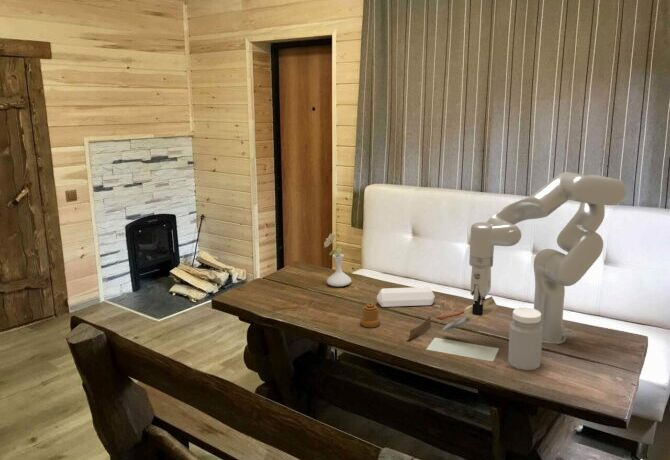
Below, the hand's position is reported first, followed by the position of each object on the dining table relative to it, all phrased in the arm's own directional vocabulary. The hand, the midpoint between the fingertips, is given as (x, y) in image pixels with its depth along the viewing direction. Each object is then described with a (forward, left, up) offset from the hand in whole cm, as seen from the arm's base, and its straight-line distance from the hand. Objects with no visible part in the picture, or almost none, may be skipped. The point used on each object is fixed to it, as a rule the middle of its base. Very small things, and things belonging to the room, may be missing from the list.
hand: (478, 312), depth 187 cm
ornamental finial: (+41, -3, -13) cm, 43 cm away
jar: (-16, +8, -12) cm, 22 cm away
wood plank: (+21, 0, -13) cm, 24 cm away
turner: (+3, 0, -3) cm, 4 cm away
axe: (+11, -26, -13) cm, 31 cm away
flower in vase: (+72, -38, -13) cm, 82 cm away
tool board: (+4, +6, -12) cm, 14 cm away
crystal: (+36, -28, -13) cm, 47 cm away
